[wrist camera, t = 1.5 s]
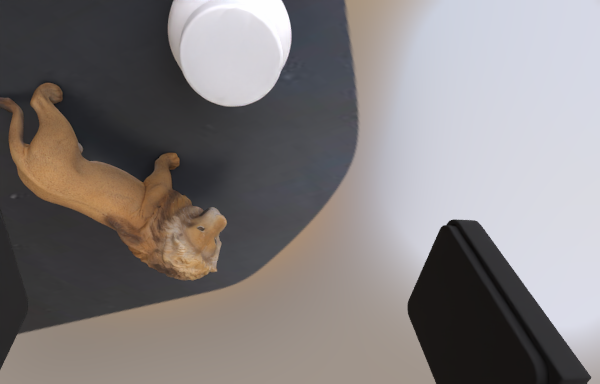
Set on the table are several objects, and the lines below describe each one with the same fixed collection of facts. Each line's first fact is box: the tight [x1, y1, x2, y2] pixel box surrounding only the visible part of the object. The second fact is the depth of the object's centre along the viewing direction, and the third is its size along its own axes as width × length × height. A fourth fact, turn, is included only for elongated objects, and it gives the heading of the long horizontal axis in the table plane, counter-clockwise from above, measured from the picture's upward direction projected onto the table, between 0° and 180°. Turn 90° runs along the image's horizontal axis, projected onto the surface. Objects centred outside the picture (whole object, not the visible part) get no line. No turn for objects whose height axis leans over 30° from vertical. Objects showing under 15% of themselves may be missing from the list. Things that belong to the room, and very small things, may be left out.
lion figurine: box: [0, 83, 227, 280], centre depth 25 cm, size 15×5×9 cm, turn 57°
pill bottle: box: [168, 0, 291, 107], centre depth 20 cm, size 5×5×10 cm
